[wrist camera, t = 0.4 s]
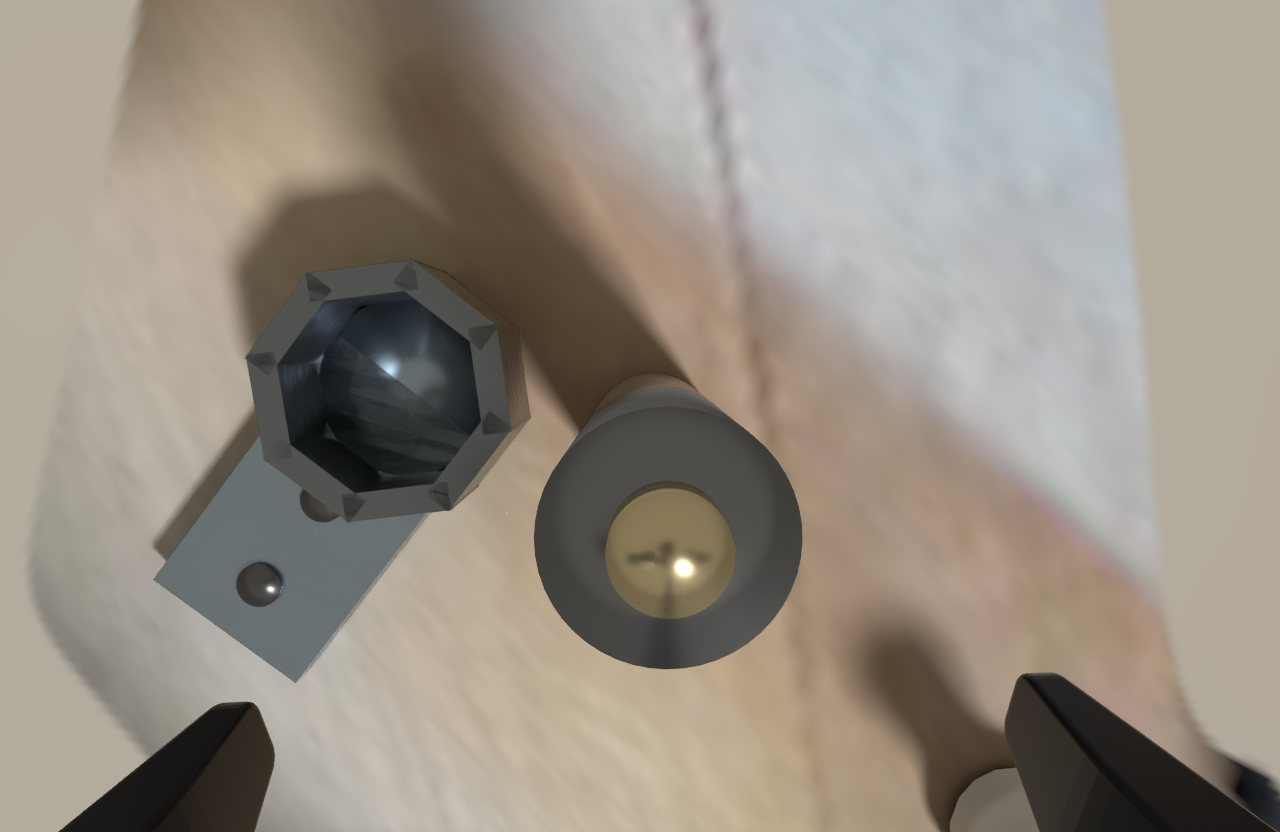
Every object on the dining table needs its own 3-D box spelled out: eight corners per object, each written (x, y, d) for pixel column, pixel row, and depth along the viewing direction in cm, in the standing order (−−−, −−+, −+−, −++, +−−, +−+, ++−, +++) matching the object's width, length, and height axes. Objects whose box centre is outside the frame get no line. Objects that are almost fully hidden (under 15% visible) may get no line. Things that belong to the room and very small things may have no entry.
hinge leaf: (327, 682, 25) (275, 737, 21) (155, 556, 24) (73, 592, 21) (569, 368, 23) (557, 371, 20) (394, 230, 23) (351, 210, 20)
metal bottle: (663, 517, 24) (693, 748, 10) (567, 443, 24) (467, 579, 10) (738, 423, 24) (874, 531, 10) (642, 348, 23) (645, 351, 10)
